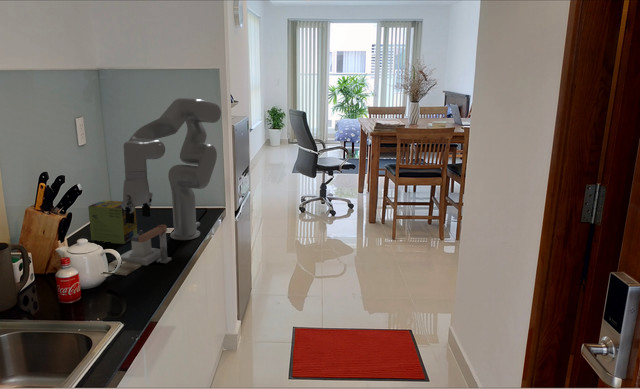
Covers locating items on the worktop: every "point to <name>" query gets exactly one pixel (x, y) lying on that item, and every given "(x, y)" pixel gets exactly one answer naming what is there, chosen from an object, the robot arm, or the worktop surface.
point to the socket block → (142, 260)
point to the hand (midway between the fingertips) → (138, 219)
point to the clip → (152, 233)
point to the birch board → (124, 267)
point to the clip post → (163, 249)
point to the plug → (140, 246)
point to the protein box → (110, 222)
